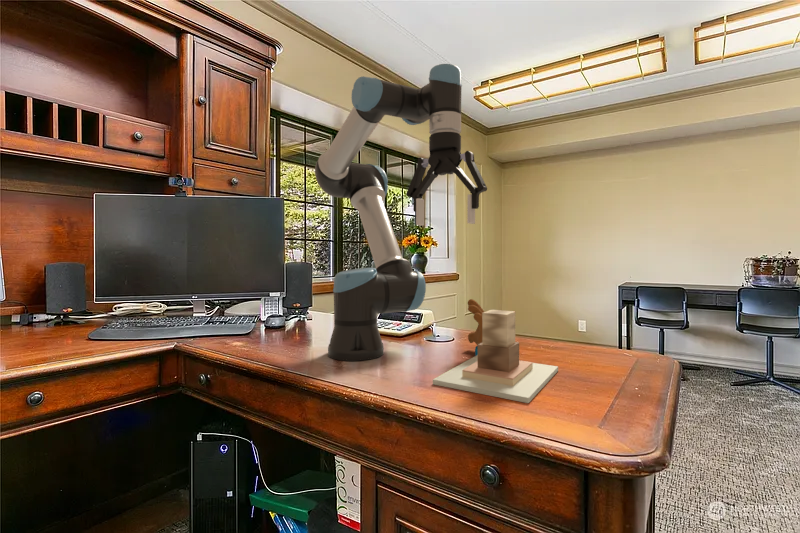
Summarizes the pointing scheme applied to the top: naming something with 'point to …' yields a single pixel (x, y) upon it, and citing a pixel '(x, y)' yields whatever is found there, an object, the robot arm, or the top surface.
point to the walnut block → (498, 357)
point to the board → (499, 379)
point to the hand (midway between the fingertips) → (444, 224)
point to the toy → (477, 312)
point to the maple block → (498, 328)
